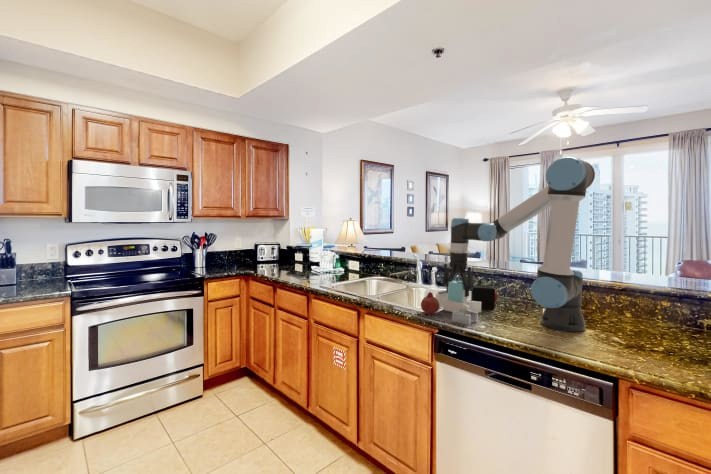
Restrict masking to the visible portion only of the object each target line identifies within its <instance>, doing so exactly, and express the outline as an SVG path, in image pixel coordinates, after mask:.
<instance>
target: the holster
mask: <svg viewBox="0 0 711 474" xmlns="http://www.w3.org/2000/svg"><path fill="white" fill-rule="evenodd" d="M451 314H452V316H451V322H454V323H457V324H458V323H459V324H462V325H464V326H465V325H466V326H468V327H469V326H471V325H472V323H479V312H475V311H471V310H466V309H462V308H461V309H460V312H456V311H452V312H451Z"/></svg>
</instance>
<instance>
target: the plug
mask: <svg viewBox="0 0 711 474" xmlns="http://www.w3.org/2000/svg"><path fill="white" fill-rule="evenodd" d="M463 289H464V285H463V282H462V280H453V281H450V282H449V284H448V300H450V301H455V302H459V303H462V301H463Z"/></svg>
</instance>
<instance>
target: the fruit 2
mask: <svg viewBox="0 0 711 474" xmlns="http://www.w3.org/2000/svg"><path fill="white" fill-rule="evenodd" d="M420 308H421V310H422V311H423V312H424V313H425V314H427V315H434V314H436V313H437V312H438V311H439V310H440V308H439V302H438V300H437V299H436V296H434V295H433V292H431V291H428V293H427V295H426V296H424V297H423V298H422V299H421V302H420Z"/></svg>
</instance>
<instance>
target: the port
mask: <svg viewBox="0 0 711 474" xmlns="http://www.w3.org/2000/svg"><path fill="white" fill-rule="evenodd" d="M435 298H436V299H437V300H438V302H439V309H440V308H442V310H443V311H446V312H451V313H452V311H456V312H460V309H461V308H462V309H466V310H471V311H475V312H478V313H482V309H481V302H477V301H471V299H470V300H468V299H467V303H466V304H464V303H459V302H455V301H450V300H447V298H448V293H447V292H446V290H440V291H437V293H435Z"/></svg>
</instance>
